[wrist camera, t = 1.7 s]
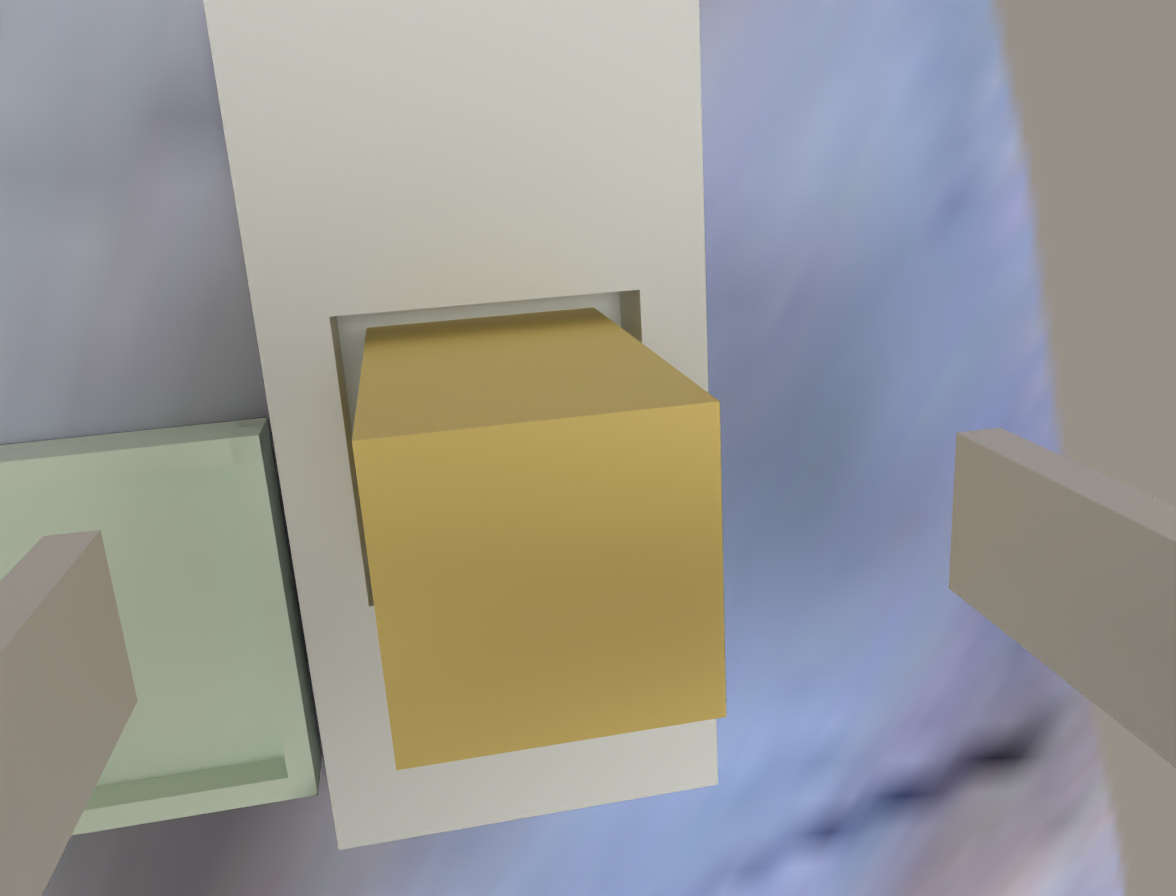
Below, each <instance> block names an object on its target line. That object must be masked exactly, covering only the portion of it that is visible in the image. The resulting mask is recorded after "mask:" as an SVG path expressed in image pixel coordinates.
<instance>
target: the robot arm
mask: <svg viewBox="0 0 1176 896" xmlns="http://www.w3.org/2000/svg"><path fill="white" fill-rule="evenodd" d="M949 589H950V590H952V591H953V592H954V593H955V594H957V595H958V596H959V597H961V598H962V599H963V600H964V601H966V602H967V603H968V604H969V605H971V606H972V607H973V608H974V609H976V610H977V611H978V612H979V613H981V614H982V615H983V616H985V617H986V618H987V619H988V620H990V621H991V622H992V623H993V624H995V625H996V626H997V627H998V628H1000V629H1001V630H1002V631H1003V632H1005V633H1006V634H1007V635H1008V636H1010V637H1011V638H1012V639H1014V640H1015V641H1016V642H1017V643H1019V644H1020V645H1021V646H1022V647H1024V648H1025V649H1026V650H1027V651H1029V652H1030V653H1031V654H1032V655H1034V656H1035V657H1036V658H1037V659H1039V660H1040V661H1041V662H1043V663H1044V664H1045V665H1046V666H1048V667H1049V668H1050V669H1051V670H1053V671H1054V672H1055V673H1056V674H1058V675H1059V676H1060V677H1061V678H1063V679H1064V680H1065V681H1067V682H1068V683H1069V684H1070V685H1072V686H1073V687H1074V688H1075V689H1077V690H1078V691H1079V692H1080V693H1082V694H1083V695H1084V696H1085V697H1087V698H1088V699H1089V700H1090V701H1092V702H1093V703H1094V704H1096V705H1097V706H1098V707H1099V708H1101V709H1102V710H1103V711H1104V712H1106V713H1107V714H1108V715H1110V716H1111V717H1112V718H1113V719H1114V720H1116V721H1117V722H1118V723H1119V724H1121V725H1122V726H1123V727H1125V728H1126V729H1127V730H1129V731H1130V732H1131V733H1132V734H1133V735H1135V736H1136V737H1137V738H1138V739H1140V740H1141V741H1142V742H1143V743H1145V744H1146V745H1147V746H1149V747H1150V748H1151V749H1153V750H1154V751H1155V752H1156V753H1157V754H1159V755H1160V756H1161V757H1162V758H1164V759H1165V760H1166V761H1167V762H1169V763H1170V764H1171V765H1173V766H1174V767H1175V768H1176V507H1173V506H1171V505H1169V504H1167V503H1165V502H1162V501H1160V500H1158V499H1156V498H1153V497H1151V496H1149V495H1147V494H1145V493H1143V492H1140V491H1138V490H1136V489H1134V488H1132V487H1129V486H1127V485H1125V484H1123V483H1120V482H1118V481H1116V480H1114V479H1112V478H1110V477H1107V476H1105V475H1103V474H1101V473H1099V472H1096V471H1094V470H1092V469H1090V468H1088V467H1085V466H1083V465H1081V464H1079V463H1076V462H1074V461H1072V460H1070V459H1068V458H1066V457H1063V456H1061V455H1059V454H1057V453H1055V452H1052V451H1050V450H1048V449H1046V448H1044V447H1041V446H1039V445H1037V444H1035V443H1033V442H1030V441H1028V440H1026V439H1024V438H1022V437H1019V436H1017V435H1015V434H1013V433H1011V432H1008V431H1006V430H1004V429H1002V428H994V429H985V430H976V431H967V432H958V433H957V436H956V456H955V476H954V495H953V515H952V535H951V555H950V574H949ZM137 701H138V700H137V695H136V691H135V686H134V681H133V677H132V672H131V668H130V663H129V658H128V654H127V649H126V645H125V640H124V635H123V631H122V626H121V622H120V617H119V613H118V608H117V603H116V599H115V594H114V590H113V585H112V580H111V576H110V571H109V567H108V562H107V558H106V553H105V548H104V544H103V539H102V535H101V530H93V531H85V532H76V533H67V534H58V535H49V536H43V537H42V538H41V539H40V540H39V541H38V542H37V543H36V544H35V545H34V546H33V547H32V548H31V549H30V550H29V551H28V552H27V554H26V555H25V556H24V557H23V558H22V559H21V560H20V561H19V562H18V563H17V564H16V565H15V566H14V567H13V568H12V569H11V570H10V571H9V572H8V573H7V575H6V576H5V577H4V578H3V579H2V580H1V581H0V896H42V894H43V892H44V890H45V888H46V886H47V884H48V882H49V880H50V878H51V876H52V874H53V872H54V870H55V868H56V866H57V864H58V862H59V860H60V858H61V856H62V854H63V852H64V850H65V848H66V846H67V844H68V841H69V839H70V837H71V835H72V833H73V831H74V829H75V827H76V825H77V823H78V821H79V819H80V817H81V815H82V813H83V811H84V809H85V807H86V805H87V803H88V801H89V799H90V797H91V795H92V793H93V791H94V789H95V787H96V784H97V782H98V780H99V778H100V776H101V774H102V772H103V770H104V768H105V766H106V764H107V762H108V760H109V758H110V756H111V754H112V752H113V750H114V748H115V746H116V744H117V742H118V740H119V738H120V736H121V734H122V732H123V729H124V727H125V725H126V723H127V721H128V719H129V717H130V715H131V713H132V711H133V709H134V707H135V705H136V703H137Z"/></svg>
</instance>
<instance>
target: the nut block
mask: <svg viewBox="0 0 1176 896" xmlns="http://www.w3.org/2000/svg"><path fill="white" fill-rule="evenodd" d="M352 446H353V454H354V461H355V468H356V476H357V483H358V491H359V498H360V505H361V513H362V520H363V528H364V535H365V542H366V550H367V557H368V565H369V572H370V579H371V587H372V594H373V602H374V609H375V616H376V624H377V631H378V639H379V646H380V653H381V661H382V668H383V676H384V683H385V690H386V698H387V705H388V713H389V720H390V727H391V735H392V742H393V750H394V757H395V764H396V770H402V769H408V768H414V767H421V766H427V765H433V764H439V763H445V762H451V761H458V760H464V759H470V758H476V757H482V756H488V755H495V754H501V753H507V752H513V751H519V750H525V749H532V748H538V747H544V746H550V745H556V744H562V743H569V742H575V741H581V740H587V739H593V738H599V737H606V736H612V735H618V734H624V733H630V732H636V731H643V730H649V729H655V728H661V727H667V726H673V725H680V724H686V723H692V722H698V721H704V720H710V719H717V718H723V717H726V681H725V633H724V585H723V537H722V489H721V441H720V401H719V400H717V399H716V398H715V397H713V396H712V395H711V394H709V393H708V392H706V391H705V390H704V389H702V388H701V387H700V386H698V385H697V384H696V383H694V382H693V381H692V380H690V379H689V378H688V377H686V376H685V375H684V374H682V373H681V372H680V371H678V370H677V369H676V368H674V367H673V366H672V365H670V364H669V363H668V362H666V361H665V360H664V359H662V358H661V357H660V356H658V355H657V354H656V353H654V352H653V351H652V350H650V349H649V348H648V347H646V346H645V345H644V344H642V343H641V342H640V341H638V340H637V339H636V338H634V337H633V336H632V335H630V334H629V333H628V332H626V331H625V330H624V329H622V328H621V327H620V326H618V325H617V324H616V323H614V322H613V321H612V320H610V319H609V318H608V317H606V316H605V315H603V314H602V313H601V312H599V311H598V310H597V309H595V308H594V307H591V308H580V309H569V310H558V311H547V312H536V313H524V314H513V315H502V316H491V317H480V318H469V319H458V320H446V321H435V322H424V323H413V324H402V325H391V326H380V327H369V328H367V330H366V338H365V345H364V353H363V361H362V368H361V376H360V383H359V391H358V398H357V406H356V413H355V421H354V428H353V436H352Z"/></svg>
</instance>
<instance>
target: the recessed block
mask: <svg viewBox="0 0 1176 896" xmlns="http://www.w3.org/2000/svg"><path fill="white" fill-rule="evenodd" d="M203 3H204V9H205V15H206V22H207V28H208V34H209V40H210V47H211V53H212V59H213V65H214V72H215V78H216V84H217V91H218V97H219V103H220V109H221V116H222V122H223V128H224V134H225V141H226V147H227V153H228V159H229V166H230V172H231V178H232V185H233V191H234V197H235V203H236V210H237V216H238V222H239V228H240V235H241V241H242V247H243V254H244V260H245V266H246V272H247V279H248V285H249V291H250V297H251V304H252V310H253V316H254V323H255V329H256V335H257V341H258V348H259V354H260V360H261V366H262V373H263V379H264V385H265V392H266V398H267V404H268V410H269V417H270V423H271V429H272V435H273V442H274V448H275V454H276V460H277V467H278V473H279V479H280V486H281V492H282V498H283V504H284V511H285V517H286V523H287V529H288V536H289V542H290V548H291V555H292V561H293V567H294V573H295V580H296V586H297V592H298V598H299V605H300V611H301V617H302V624H303V630H304V636H305V642H306V649H307V655H308V661H309V667H310V674H311V680H312V686H313V692H314V699H315V705H316V711H317V718H318V724H319V730H320V736H321V743H322V749H323V755H324V761H325V768H326V774H327V780H328V787H329V793H330V799H331V805H332V812H333V818H334V824H335V830H336V837H337V843H338V849H339V850H343V849H348V848H354V847H360V846H366V845H372V844H377V843H383V842H389V841H395V840H400V839H406V838H412V837H418V836H423V835H429V834H435V833H441V832H446V831H452V830H458V829H464V828H470V827H475V826H481V825H487V824H493V823H498V822H504V821H510V820H516V819H521V818H527V817H533V816H539V815H544V814H550V813H556V812H562V811H567V810H573V809H579V808H585V807H591V806H596V805H602V804H608V803H614V802H619V801H625V800H631V799H637V798H642V797H648V796H654V795H660V794H665V793H671V792H677V791H683V790H689V789H694V788H700V787H706V786H712V785H717V784H718V768H717V726H716V719H710V720H704V721H698V722H692V723H686V724H680V725H673V726H667V727H661V728H655V729H649V730H643V731H636V732H630V733H624V734H618V735H612V736H606V737H599V738H593V739H587V740H581V741H575V742H569V743H562V744H556V745H550V746H544V747H538V748H532V749H525V750H519V751H513V752H507V753H501V754H495V755H488V756H482V757H476V758H470V759H464V760H458V761H451V762H445V763H439V764H433V765H427V766H421V767H414V768H408V769H402V770H396V764H395V757H394V750H393V742H392V735H391V727H390V720H389V713H388V705H387V698H386V690H385V683H384V676H383V668H382V661H381V653H380V646H379V639H378V631H377V624H376V616H375V609H374V602H373V594H372V587H371V579H370V572H369V565H368V557H367V550H366V542H365V535H364V528H363V520H362V513H361V505H360V498H359V491H358V483H357V476H356V468H355V461H354V454H353V446H352V436H353V428H354V421H355V413H356V406H357V398H358V391H359V383H360V376H361V368H362V361H363V353H364V345H365V338H366V330H367V328H369V327H380V326H391V325H402V324H413V323H424V322H435V321H446V320H458V319H469V318H480V317H491V316H502V315H513V314H524V313H536V312H547V311H558V310H569V309H580V308H591V307H594V308H595V309H597V310H598V311H599V312H601V313H602V314H603V315H605V316H606V317H608V318H609V319H610V320H612V321H613V322H614V323H616V324H617V325H618V326H620V327H621V328H622V329H624V330H625V331H626V332H628V333H629V334H630V335H632V336H633V337H634V338H636V339H637V340H638V341H640V342H641V343H642V344H644V345H645V346H646V347H648V348H649V349H650V350H652V351H653V352H654V353H656V354H657V355H658V356H660V357H661V358H662V359H664V360H665V361H666V362H668V363H669V364H670V365H672V366H673V367H674V368H676V369H677V370H678V371H680V372H681V373H682V374H684V375H685V376H686V377H688V378H689V379H690V380H692V381H693V382H694V383H696V384H697V385H698V386H700V387H701V388H702V389H704V390H705V391H706V392H708V356H707V314H706V273H705V232H704V191H703V150H702V108H701V67H700V26H699V0H203Z"/></svg>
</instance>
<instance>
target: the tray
mask: <svg viewBox="0 0 1176 896" xmlns="http://www.w3.org/2000/svg"><path fill="white" fill-rule="evenodd" d="M93 530H101V535H102V539H103V544H104V548H105V553H106V558H107V562H108V567H109V571H110V576H111V580H112V585H113V590H114V594H115V599H116V603H117V608H118V613H119V617H120V622H121V626H122V631H123V635H124V640H125V645H126V649H127V654H128V658H129V663H130V668H131V672H132V677H133V681H134V686H135V691H136V695H137V700H138V701H137V703H136V705H135V707H134V709H133V711H132V713H131V715H130V717H129V719H128V721H127V723H126V725H125V727H124V729H123V732H122V734H121V736H120V738H119V740H118V742H117V744H116V746H115V748H114V750H113V752H112V754H111V756H110V758H109V760H108V762H107V764H106V766H105V768H104V770H103V772H102V774H101V776H100V778H99V780H98V782H97V784H96V787H95V789H94V791H93V793H92V795H91V797H90V799H89V801H88V803H87V805H86V807H85V809H84V811H83V813H82V815H81V817H80V819H79V821H78V823H77V825H76V827H75V829H74V831H73V833H72V835H78V834H84V833H90V832H96V831H102V830H108V829H114V828H120V827H126V826H132V825H139V824H145V823H151V822H157V821H163V820H169V819H175V818H181V817H187V816H193V815H199V814H206V813H212V812H218V811H224V810H230V809H236V808H242V807H248V806H254V805H260V804H267V803H273V802H279V801H285V800H291V799H297V798H303V797H309V796H315V795H318V787H319V778H320V769H321V761H322V758H321V752H320V746H319V739H318V733H317V727H316V721H315V715H314V708H313V702H312V696H311V690H310V683H309V677H308V671H307V665H306V658H305V652H304V646H303V640H302V633H301V627H300V621H299V615H298V609H297V602H296V596H295V590H294V584H293V577H292V571H291V565H290V559H289V552H288V546H287V540H286V534H285V527H284V521H283V515H282V509H281V502H280V496H279V490H278V484H277V478H276V471H275V465H274V459H273V453H272V446H271V440H270V434H269V428H268V421H267V418H258V419H249V420H239V421H229V422H220V423H210V424H200V425H190V426H181V427H171V428H161V429H151V430H142V431H132V432H122V433H112V434H103V435H93V436H83V437H73V438H64V439H54V440H44V441H34V442H25V443H15V444H5V445H0V581H1V580H2V579H3V578H4V577H5V576H6V575H7V573H8V572H9V571H10V570H11V569H12V568H13V567H14V566H15V565H16V564H17V563H18V562H19V561H20V560H21V559H22V558H23V557H24V556H25V555H26V554H27V552H28V551H29V550H30V549H31V548H32V547H33V546H34V545H35V544H36V543H37V542H38V541H39V540H40V539H41V538H42V537H43V536H49V535H58V534H67V533H76V532H85V531H93ZM72 835H71V836H72Z"/></svg>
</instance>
